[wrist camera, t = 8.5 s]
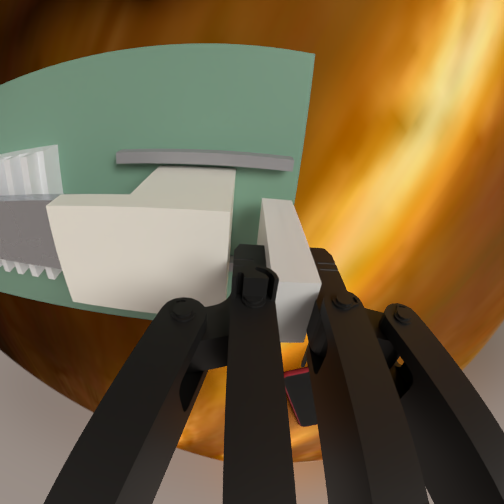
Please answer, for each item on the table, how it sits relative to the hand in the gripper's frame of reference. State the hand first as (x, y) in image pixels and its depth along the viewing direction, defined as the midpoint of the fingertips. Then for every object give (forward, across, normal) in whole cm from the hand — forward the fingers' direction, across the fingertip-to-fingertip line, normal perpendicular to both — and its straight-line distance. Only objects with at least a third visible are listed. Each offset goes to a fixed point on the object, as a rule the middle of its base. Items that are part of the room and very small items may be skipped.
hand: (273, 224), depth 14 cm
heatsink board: (+2, -13, 0) cm, 13 cm away
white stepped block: (+1, -6, 0) cm, 6 cm away
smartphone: (+3, +9, -22) cm, 24 cm away
